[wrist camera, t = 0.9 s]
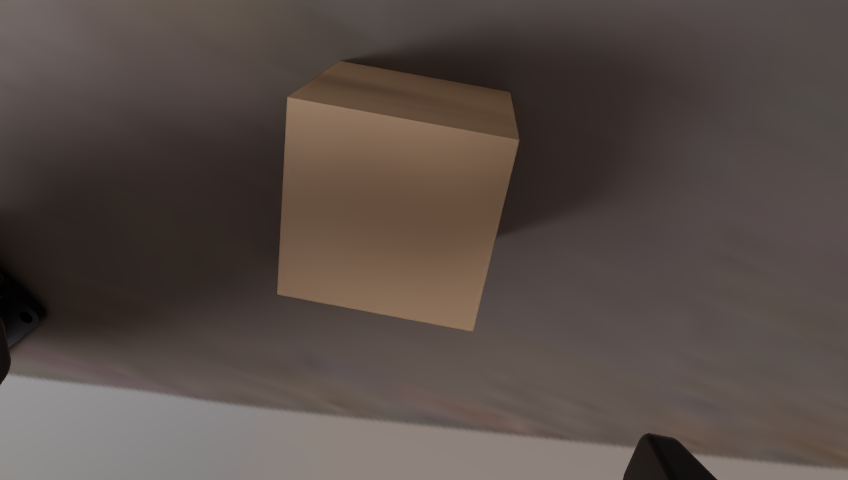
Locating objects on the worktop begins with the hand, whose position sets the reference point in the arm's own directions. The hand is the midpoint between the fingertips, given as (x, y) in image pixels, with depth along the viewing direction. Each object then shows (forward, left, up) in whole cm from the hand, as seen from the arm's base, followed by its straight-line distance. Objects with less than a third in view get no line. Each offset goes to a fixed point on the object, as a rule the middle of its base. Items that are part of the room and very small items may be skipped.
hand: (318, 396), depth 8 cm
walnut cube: (0, 0, -11) cm, 11 cm away
